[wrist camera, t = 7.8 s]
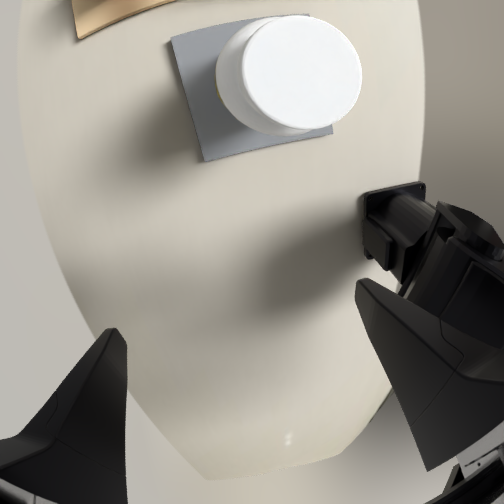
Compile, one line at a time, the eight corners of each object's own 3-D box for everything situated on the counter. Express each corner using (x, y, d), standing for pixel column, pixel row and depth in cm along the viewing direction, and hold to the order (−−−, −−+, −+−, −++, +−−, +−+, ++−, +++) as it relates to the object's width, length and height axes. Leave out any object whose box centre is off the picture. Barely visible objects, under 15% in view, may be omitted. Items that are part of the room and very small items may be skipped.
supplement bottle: (196, 81, 15) (176, 64, 6) (259, 28, 13) (309, -30, 5) (255, 137, 17) (298, 183, 9) (315, 86, 16) (406, 91, 7)
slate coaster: (306, 15, 13) (308, 13, 13) (330, 132, 18) (333, 133, 18) (171, 39, 13) (170, 37, 13) (205, 160, 18) (204, 162, 18)
